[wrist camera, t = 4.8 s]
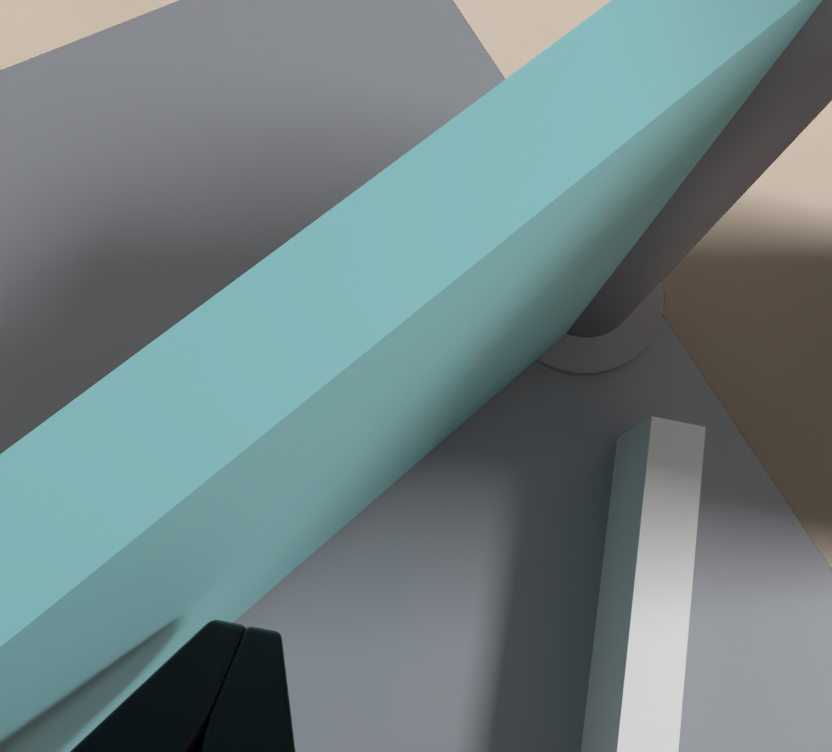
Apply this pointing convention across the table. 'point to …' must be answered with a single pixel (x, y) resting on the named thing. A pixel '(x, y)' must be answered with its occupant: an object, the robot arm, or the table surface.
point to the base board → (452, 458)
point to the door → (379, 339)
